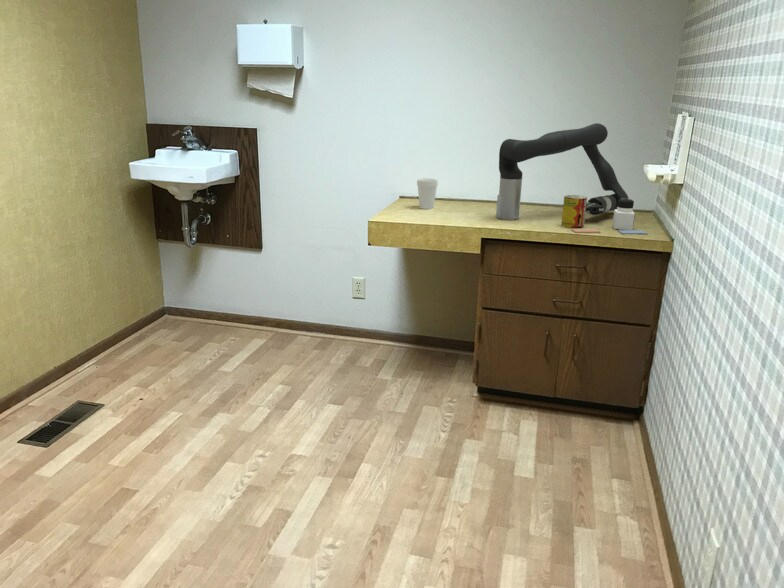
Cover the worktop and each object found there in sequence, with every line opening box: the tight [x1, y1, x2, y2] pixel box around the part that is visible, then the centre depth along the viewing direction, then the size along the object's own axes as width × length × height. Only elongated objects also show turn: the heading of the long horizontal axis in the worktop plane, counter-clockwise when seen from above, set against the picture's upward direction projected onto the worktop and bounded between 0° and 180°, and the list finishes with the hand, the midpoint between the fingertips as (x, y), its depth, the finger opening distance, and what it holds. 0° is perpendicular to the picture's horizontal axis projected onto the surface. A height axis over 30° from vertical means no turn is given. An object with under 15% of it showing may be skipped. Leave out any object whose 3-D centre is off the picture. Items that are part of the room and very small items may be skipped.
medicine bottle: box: [612, 198, 636, 230], centre depth 260 cm, size 7×7×12 cm
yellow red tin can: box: [560, 194, 588, 229], centre depth 263 cm, size 9×9×12 cm
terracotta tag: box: [570, 228, 601, 234], centre depth 254 cm, size 10×5×1 cm, turn 96°
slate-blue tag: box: [617, 229, 649, 235], centre depth 253 cm, size 10×5×1 cm, turn 96°
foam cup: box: [416, 177, 439, 210], centre depth 295 cm, size 10×9×13 cm
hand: (579, 209), depth 266 cm, fingers closed
